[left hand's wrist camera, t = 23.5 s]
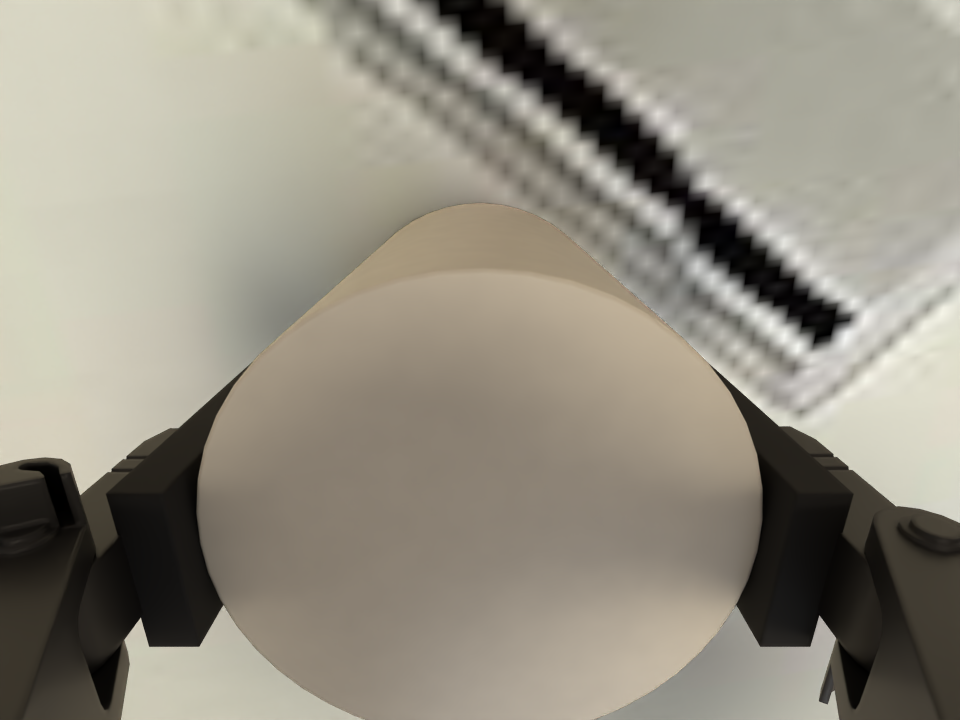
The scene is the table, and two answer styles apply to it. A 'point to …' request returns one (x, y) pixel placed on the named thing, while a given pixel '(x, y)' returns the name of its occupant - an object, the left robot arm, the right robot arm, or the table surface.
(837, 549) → the left robot arm
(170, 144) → the table surface
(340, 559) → the can
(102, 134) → the table surface
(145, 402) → the table surface
